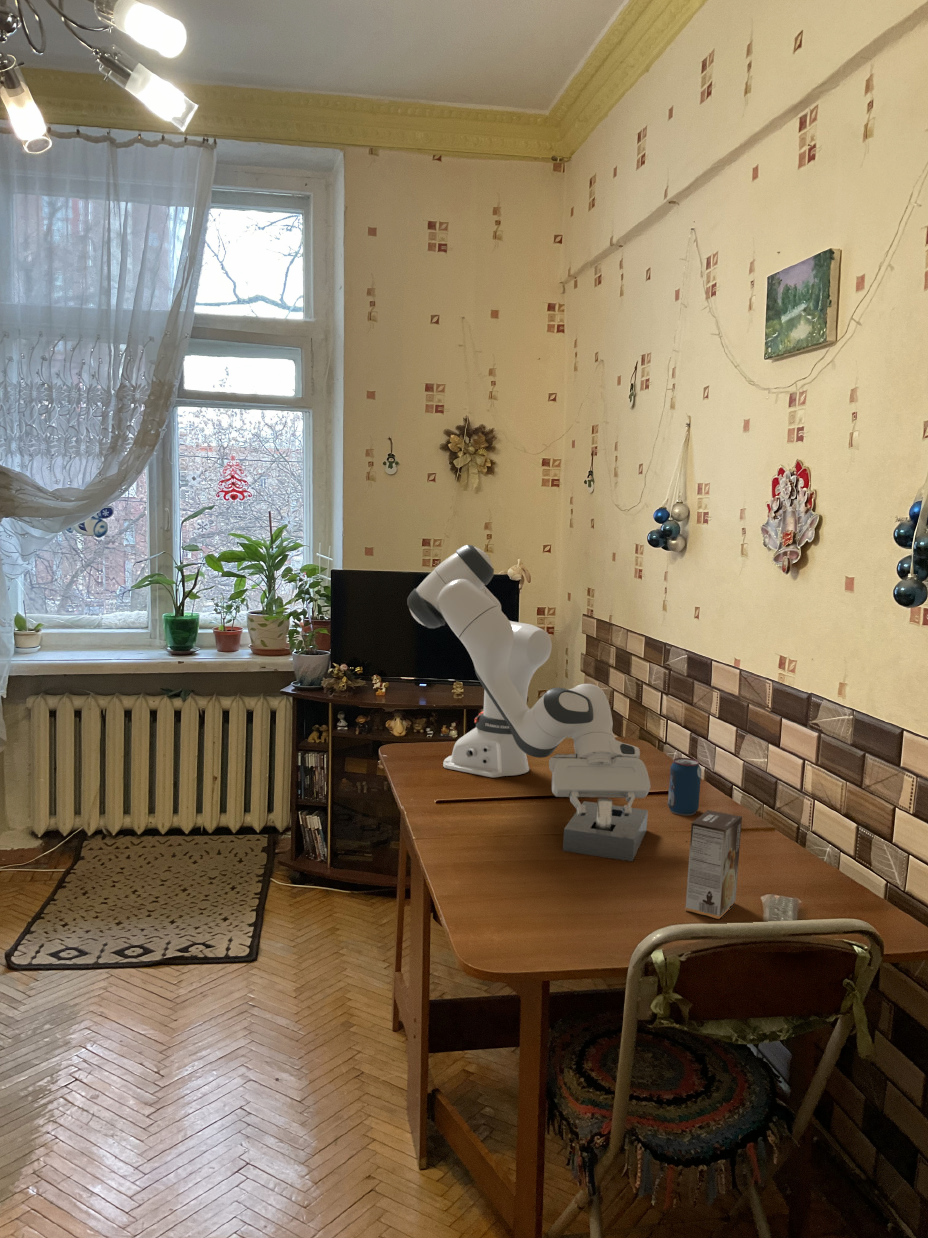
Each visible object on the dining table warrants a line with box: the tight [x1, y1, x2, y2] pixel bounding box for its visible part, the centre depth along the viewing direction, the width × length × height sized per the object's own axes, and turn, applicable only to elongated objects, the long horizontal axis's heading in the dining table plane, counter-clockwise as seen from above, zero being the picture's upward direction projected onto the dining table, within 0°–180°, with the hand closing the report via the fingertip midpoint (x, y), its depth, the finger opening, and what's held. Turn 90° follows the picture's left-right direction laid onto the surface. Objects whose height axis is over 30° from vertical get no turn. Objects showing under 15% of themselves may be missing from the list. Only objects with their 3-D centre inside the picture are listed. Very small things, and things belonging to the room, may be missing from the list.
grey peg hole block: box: [562, 800, 649, 862], centre depth 197 cm, size 14×20×4 cm
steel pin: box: [596, 797, 614, 831], centre depth 192 cm, size 3×3×10 cm
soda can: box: [667, 757, 702, 816], centre depth 218 cm, size 7×7×12 cm
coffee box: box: [685, 809, 743, 916], centre depth 165 cm, size 9×6×16 cm
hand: (604, 815), depth 191 cm, fingers open, 8 cm apart
